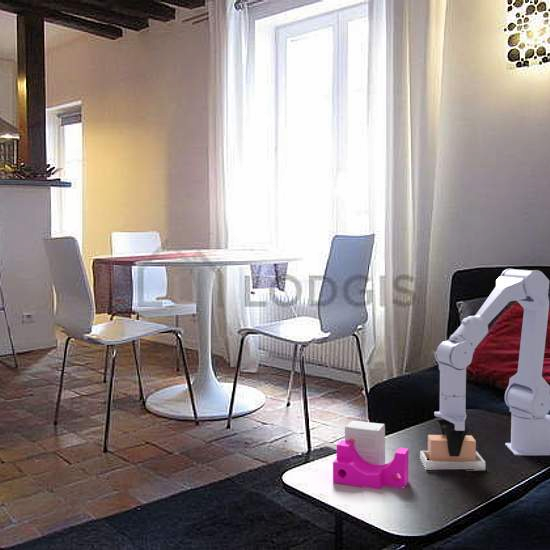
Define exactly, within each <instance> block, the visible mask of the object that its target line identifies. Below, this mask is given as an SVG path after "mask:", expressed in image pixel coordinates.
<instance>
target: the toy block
mask: <svg viewBox="0 0 550 550" xmlns="http://www.w3.org/2000/svg"><path fill="white" fill-rule="evenodd" d="M409 453H410V451H409V448H407V447H398V448H397V450H396V451H395V453H394V457H393V459H392V460H391V461H390V462H388V463H385V465H374V464H371V463H368V462H367V461H365V460H364V459H362V458H361V457H360V455H359V454H358V453H357V451H356V449H355V446H354V442H353V441H347V440H345V439H342V440H341V441H339V442H338V443H337V444H336V458H335V459H334V460H333V461H332V483H333V484H334V483H335V484H340V485H341V484H342V485H346V486H347V485H348V486H354V487H358V488H363V487H364V488H369V489H374V490H375V489H376V490H380V489H382V487H383V486H388V487H393V488H399V487H405V485H406V484H407V485H408V483H409ZM407 482H408V483H407ZM407 485H406V486H407ZM405 488H406V487H405Z"/></svg>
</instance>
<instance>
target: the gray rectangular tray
mask: <svg viewBox="0 0 550 550" xmlns="http://www.w3.org/2000/svg"><path fill="white" fill-rule="evenodd" d="M420 459H421V460H420ZM427 459H429V458H428V450H420V451H419V460H420V462H421V461H422V462H421V464H422V463H423V464H422V466H423V465H424V466H423V468H424V467H425V468H424V470H425V469H426V470H433V469H434V470H435V469H474V470H473V471H486V461H485V459H483V457H482V456H481V454H479V452H478V451H477V450H476V461H430V460H427ZM426 470H425V471H426Z"/></svg>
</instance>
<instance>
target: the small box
mask: <svg viewBox="0 0 550 550" xmlns="http://www.w3.org/2000/svg"><path fill="white" fill-rule="evenodd" d="M344 440H347V441H353V442H354V446H355V449H356V451H357V453H358V454H359V455H360V457H361V458H362V459H364V460H365V461H367V462H368V463H371V464H374V465H385V464H386V424H385V423H377V422H371V421H369V422H368V421H362V420H361V421H359V420H351V421H350V422H349V423H348V424H346V425H345V427H344Z"/></svg>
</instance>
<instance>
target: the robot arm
mask: <svg viewBox="0 0 550 550" xmlns="http://www.w3.org/2000/svg"><path fill="white" fill-rule="evenodd" d="M549 287H550V280H549V278H548V277H547V276H546V275H545V274H544V273H543V272H542V271H540V270H539V269H538V270H537V269H535V270H532V269H531V270H528V269H514V268H506V269H504V270H503V271H502V273H501V274H500V276H498V278H497V279H496V280H495V287H494V288H493V290H492V291H491V292H490V294H489V296H488V297H487V298H486V300H485V301H484V303H483V304H482V305H481V307H480V308H479V309H478V311H477V312H476V313H475V315H469V316H467V317H464V318H463V319H462V320H461V324H460V326H458V327H457V329H456V330H455V331H454V332H453V333H452V334H450V336H449V338H448V339H447V340H445V341H442V342H441V343H440V344H439V345H438V346H437V348H436V351H434V358H435V360H436V362H437V364H438V370H439V411H434V412H433V413H434V414H433V415H434V417H436V420H437V421H436V422H437V423H438V425H439V428H440V431H441V435H446V438H447V444H448V451H449V455H450V456H459V455H460V452H461V448H462V444H463V441H464V438H465V436H466V435H467V434H468V433H469V431H470V427H468V426H467V425H465V424H466V423H465V421H466V419H467V413H466V411H467V410H466V408H467V407H466V401H467V399H466V398H467V397H466V395H467V394H466V393H467V390H466V389H467V387H466V386H467V367H469V365H471V363H472V361H473V355H474V353H475V349H476V348H477V347H478V345H479V344H480V343H481V342H482V341H483V339H484V338H485V337H486V336H487V334H488V333H489V324H490V323H491V321H492V320H493V319H494V318H495V317H496V316H497V315H499V313H500V312H501V311H502V310H503V309H504V308H505V307H506V306H507V305H508V304H509V303H510V302H513V301H514V302H515V301H516V302H517V303H518V304H519V305H520V306H521V307H522V308H523V315H522V316H523V318H522V326H521V336H520V346H519V355H518V363H517V364H518V365H517V372H516V373H515V374H514V375H512V376H511V377H509V380H508V381H509V382H508V386H507V387H506V390H505V391H504V392H505V393H504V402H505V405H506V406H507V407H508V408H509V412H511V416H510V417H511V418H510V419H511V420H510V423H511V424H510V427H511V428H510V442H505V444H504V445H505V446H506V447H507V448H508V449H509V450H510V452H512V453H513V455H514V456H550V414H549V412H550V384H548V382H547V381H546V380H545V378H544V377H543V366H544V359H545V358H544V357H545V351H546V350H545V348H546V339H547V329H548V319H549V311H550V299H549V289H550V288H549Z"/></svg>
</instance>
